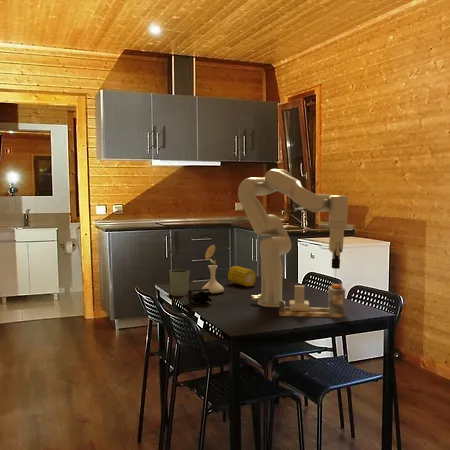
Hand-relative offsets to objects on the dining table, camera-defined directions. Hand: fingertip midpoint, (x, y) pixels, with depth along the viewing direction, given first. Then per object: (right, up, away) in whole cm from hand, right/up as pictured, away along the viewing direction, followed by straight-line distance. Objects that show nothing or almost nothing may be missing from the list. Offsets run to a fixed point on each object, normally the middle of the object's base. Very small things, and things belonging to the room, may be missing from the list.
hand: (335, 268), depth 217 cm
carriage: (-15, -18, +3) cm, 23 cm away
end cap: (-58, -19, +20) cm, 65 cm away
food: (-37, -15, +66) cm, 78 cm away
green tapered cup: (-70, -17, +42) cm, 83 cm away
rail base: (-10, -20, +2) cm, 22 cm away
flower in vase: (-53, -17, +45) cm, 71 cm away
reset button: (0, -8, 0) cm, 8 cm away
